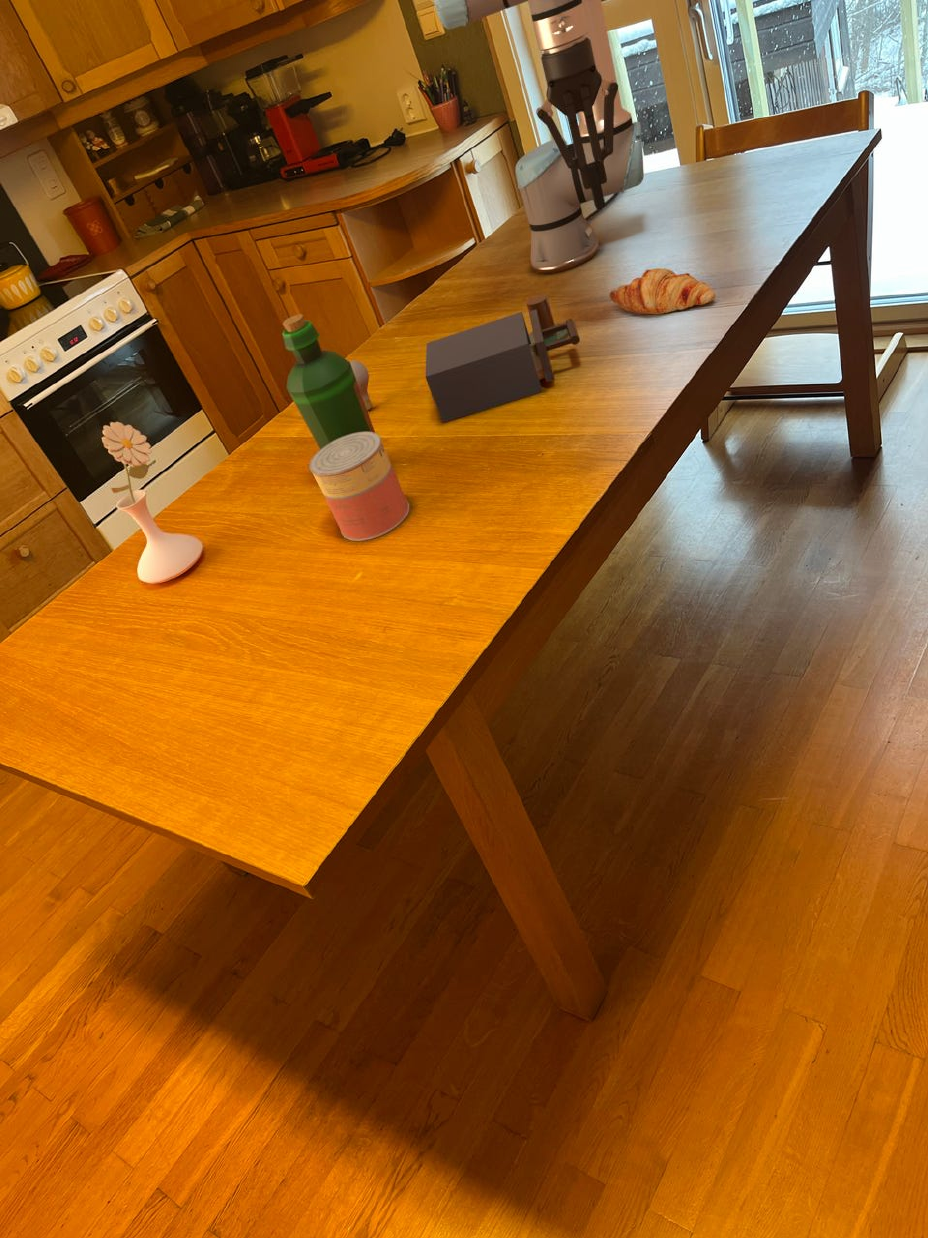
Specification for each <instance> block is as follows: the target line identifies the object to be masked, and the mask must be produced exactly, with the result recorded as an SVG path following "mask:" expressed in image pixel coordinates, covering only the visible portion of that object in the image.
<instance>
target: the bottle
mask: <svg viewBox="0 0 928 1238" xmlns="http://www.w3.org/2000/svg"><path fill="white" fill-rule="evenodd" d="M282 325H283V326H284V328H285V329H284V330H283V331H282V338H283V342H284V347H285V349H286V350H287V351H291V353H292V354H293V356H294V358H295V360H296V361H295V363H294V365H293V366H292V368H291V370H290V371H289V374H288V376H287V381H286V391H287V392H288V393H289V396H290V398H291V399H292V401H293V402H294V405H295V407H296V408H297V410H298V412H299V413H300V416H301V417H302V419H303V420H304V423H305V425H306V426H307V428H308V430H309V431H310V433H311V435H312V438H313V439H314V440H315V442H316V445H317V446H318V448H319V450H320V449H322V448H323V447H324V446H326V445H327V444H329V443H331V442H332V441H334V440H336V439H338V438H341V437H343V436H346V435H349V434H353V433H357V432H373V433H376V430H375V428H374V425H373V422H372V420H371V417H370V414H369V411H367V408H366V406H365V403H364V400H363V397H362V395H361V392H360V389H359V386H358V383H357V381H356V378H355V375H354V372H353V370H352V367H351V364H350V362H349V361H350V360H348V359H346V358H344V357H343V356H342V355H340V354H339V353H337V351H336V352H335V351H331V350H330V351H329V350H322V348H321V346H320V343H319V337H320V333H319V332H318V330H317V329H316V327H315V326H314V324H313V323H312V321H310V320H308V319H307V320H305V318H304V314H302V313H301V314H300V313H299V314H295V315H293V316H290V317H288V318H287V319H285V320H283V322H282Z"/></svg>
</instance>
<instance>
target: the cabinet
mask: <svg viewBox="0 0 928 1238" xmlns="http://www.w3.org/2000/svg"><path fill="white" fill-rule="evenodd" d="M527 327H528V326H527V324H526V321H525V318H524V313H523V311H519V312H517V313H514V314H510V315H507V316H504V317H502V318H498V319H495V320H491V321H489V322H487V323H483V324H480V325H477V326H474V327H472V328H471V327H470V328H468V329H465V330H462V331H459V332H456V333H454V334H450V335H448V336H444V337H442V338H438V339H435V340H431V341H429V342H426V353H425V380H426V383H427V386H428V388H429V390H430V394H431V395H432V398H433V401H434V404H435V407H436V409H437V412H438V414H439V417H440V420H441V422H442V424H444V423H447V422H452V421H455V420H457V419H458V420H459V419H460V418H464V417H467V416H469V415H474V414H477V413H480V412H482V411H483V412H484V411H486V410H489V409H493V408H495V407H498V406H502V405H505V404H508V403H512V402H515V401H518V400H522V399H525V398H527V397H531V396H534V395H537V394H541V393H543V389H542V383H541V379H540V380H539V378H538V375H537V371H536V368H535V364H534V361H533V358H532V354H531V351H530V347H529V345H530V344H531V341H530V338H529V334H530V333H529V331H528V328H527Z"/></svg>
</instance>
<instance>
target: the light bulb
mask: <svg viewBox="0 0 928 1238" xmlns="http://www.w3.org/2000/svg"><path fill="white" fill-rule="evenodd" d="M348 361H349V362H350V364H351V367H352V370H353V372H354V375H355V378H356V381H357V383H358V386H359V389H360V392H361V395H362V397H363V400H364V403H365V406H366V408H367V411H368V412H369V411H371V409H372V408H373V404H372V402H371V399H370V398H371V397H370V395H369V392H368V388H369V380H370V374H369V371H368V368H367V367H366V366H365V364H364V363H362V362H360V361H358V360H348Z"/></svg>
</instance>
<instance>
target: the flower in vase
mask: <svg viewBox="0 0 928 1238" xmlns="http://www.w3.org/2000/svg"><path fill="white" fill-rule="evenodd" d="M102 434H103V436H102V437H101V441H102V443H103V447H104V448H105V449H107V450H108V451H107V452H108V453H109V454H110V455H112V456H113V457H114V460H115V461H116V462H119V463H120V462H121V463H122V464H123V466H124V467H123V468H124V469H125V470H124V471H125V474H126V478H127V484H126V485H123V486H120V487H111V489H110V490H111V492H112V493H113V494H118V493H120V492H124V491H127V490H129V493H127V494H126V495H124V496H122V497H121V498H120V499H119V500H118V501H117V502H116V505H115V508H116V509H118V510H121V511H123V512H125V513H127V514H128V515H129V516H130V517H131V518H133V520H134V521H135V522H136V524H138V525H139V527H140V528H141V530H142V532H143V533H144V535H145V537H146V545H145V548H144V550H143V551H142V553H141V557H140V558H139V561H138V564H137V577H138V579H139V581H142V582H145V583H147V584H151V585H152V584H161V583H164V582H168V581H170V580H173V579H175V578H177V577H179V576H181V575H182V574H184V573H185V572H187V571H189V569H191V568H192V567H193V566H194V565H195V564H196V563H197V562H198V561H199V559H200V558H201V556H202V553H203V548H204V547H203V543H202V541H201V540H200V539H199V538H197V537H196V536H193V535H190V534H183V533H169V532H165V531H163V530H162V529H161V528H160V527H159V526H158V524H157V523H156V522H155V520H154V519H153V517H152V514H151V513H150V510H149V509H148V506H147V505H148V504H147V499H146V498H147V491H146V490H145V489H137V490H136V489H135V490H134V491H133V490H132V489H133V488H132V483H131V478H133V479H139V480H142V479H144V478H145V477H146V475H147V474H148V472H149V466H150V465H148V464H147V462H148V463H149V462H150V461H151V459H150V456H149V455H150V454H152V449H150V448H151V447H152V445H151V444H150V443H149V442H147V439H148V438H147V436H145V435H144V434H142V433H141V431H140V430H139V429H138V430H137V429H135V428H134V427H133V426H132V425H131V424H126V425H125V424H123V423H122V422H119V421H115V422H113V421H110V422H109V425H107V424H105V425H103V429H102ZM148 454H149V455H148ZM127 465H128V466H129V470H128V466H127ZM130 477H131V478H130Z"/></svg>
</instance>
